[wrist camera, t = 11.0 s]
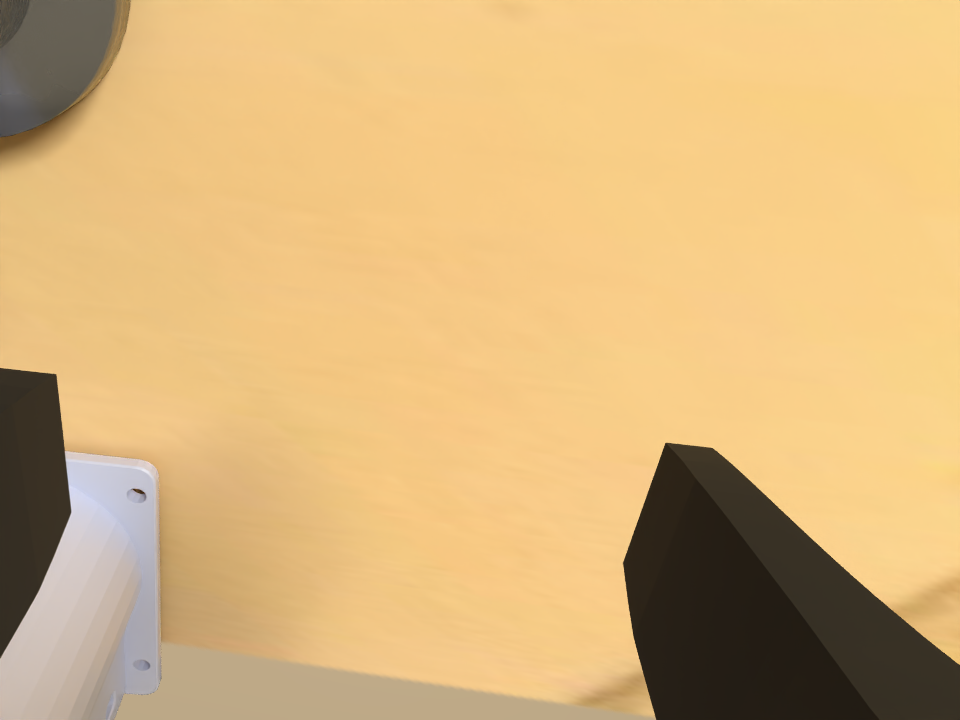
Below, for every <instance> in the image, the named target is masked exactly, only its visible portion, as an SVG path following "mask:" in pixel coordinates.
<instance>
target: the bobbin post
mask: <svg viewBox="0 0 960 720" xmlns="http://www.w3.org/2000/svg"><path fill="white" fill-rule="evenodd" d="M129 10H130V0H0V137H5V136H11V135H15V134H18V133H21V132H24V131H28V130H31V129H33V128H35V127H37V126H39V125H41V124H43V123H45V122H47V121H49V120H51V119H53V118H54V117H56V116H58V115H59V114H61V113H62V112H64V111H66V110H67V109H69V108H70V107H72V106H73V105H75V104H76V103H77V102H79V101H80V100H82V99H83V98H84V97H86V96H87V95H88V94H89V93H90V92H91V91H92V90H93V89H94V88H95V87H96V86H97V85H98V84H99V82H100V81H101V80H102V78H103V77H104V75H105V74H106V73H107V71H108V70H109V69H110V67H111V65H112V63H113V61H114V59H115V57H116V55H117V53H118V51H119V49H120V46H121V43H122V40H123V37H124V34H125V31H126V27H127V22H128V16H129Z"/></svg>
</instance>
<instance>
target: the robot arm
mask: <svg viewBox="0 0 960 720" xmlns="http://www.w3.org/2000/svg"><path fill="white" fill-rule="evenodd" d="M135 488H137V489H140V490H142V491H143V492H144V493H145V494H139V493H136V492H135V491H134V490H132V489H135ZM623 566H624V573H625V581H626V589H627V597H628V604H629V611H630V617H631V623H632V629H633V636H634V640H635V644H636V648H637V652H638V655H639V659H640V663H641V666H642V670H643V674H644V677H645V681H646V684H647V688H648V692H649V695H650V699H651V702H652V706H653V709H654V713H655V716H656V720H960V665H959V664H957V663H956V662H955V661H954V660H952V659H951V658H950V657H949V656H947V655H946V654H945V653H943V652H942V651H941V650H940V649H938V648H937V647H936V646H935V645H933V644H932V643H931V642H930V641H928V640H927V639H926V638H925V637H923V636H922V635H921V634H920V633H919V632H917V631H916V630H915V629H914V628H913V627H911V626H910V625H909V624H908V623H907V622H905V621H904V620H903V619H902V618H901V617H899V616H898V615H897V614H896V613H895V612H894V611H892V610H891V609H890V608H889V607H888V606H886V605H885V604H884V603H883V602H882V601H880V600H879V599H878V598H877V597H876V596H874V595H873V594H872V593H871V592H870V591H869V590H868V589H867V588H865V587H864V586H863V585H862V584H861V583H860V582H859V581H857V580H856V579H855V578H854V577H853V576H852V575H851V574H850V573H848V572H847V571H846V570H845V569H844V568H843V567H842V566H841V565H840V564H838V563H837V562H836V561H835V560H834V559H833V558H832V557H831V556H830V555H829V554H827V553H826V552H825V551H824V550H823V549H822V548H821V547H820V546H819V545H818V544H817V543H816V542H814V541H813V540H812V539H811V538H810V537H809V536H808V535H807V534H806V533H805V532H804V531H803V530H802V529H801V528H799V527H798V526H797V525H796V524H795V523H794V522H793V521H792V520H791V519H790V518H789V517H788V516H787V515H786V514H785V513H784V512H782V511H781V510H780V509H779V508H778V507H777V506H776V505H775V504H774V503H773V502H772V501H771V500H770V499H769V498H768V497H767V496H766V495H764V494H763V493H762V492H761V491H760V490H759V489H758V488H757V487H756V486H755V485H754V484H753V483H752V482H751V481H750V480H748V479H747V478H746V477H745V476H744V475H743V474H742V473H741V472H740V471H739V470H738V469H737V468H735V467H734V466H733V465H732V464H731V463H730V462H729V461H727V460H726V459H725V458H724V457H723V456H722V455H720V454H719V453H718V452H717V451H716V450H714V449H713V448H708V447H699V446H690V445H681V444H672V443H665V446H664V449H663V452H662V455H661V457H660V460H659V463H658V466H657V469H656V472H655V474H654V477H653V480H652V483H651V486H650V488H649V491H648V494H647V497H646V500H645V503H644V505H643V508H642V511H641V514H640V517H639V520H638V522H637V525H636V528H635V531H634V534H633V536H632V539H631V542H630V545H629V548H628V551H627V553H626V556H625V559H624V562H623ZM160 680H161V609H160V526H159V474H158V471H157V469H156V468H155V467H154V465H152V464H151V463H149V462H147V461H144V460H140V459H131V458H122V457H113V456H104V455H95V454H87V453H78V452H69V451H65V449H64V440H63V430H62V421H61V412H60V403H59V394H58V385H57V376H56V374H48V373H39V372H30V371H21V370H12V369H3V368H0V720H114V718H115V716H116V713H117V711H118V708H119V705H120V703H121V700H122V697H123V695H124V693H125V694H138V695H148V694H151V693H154V692H155V691H156V690H157V689H158V687H159V684H160Z"/></svg>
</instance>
